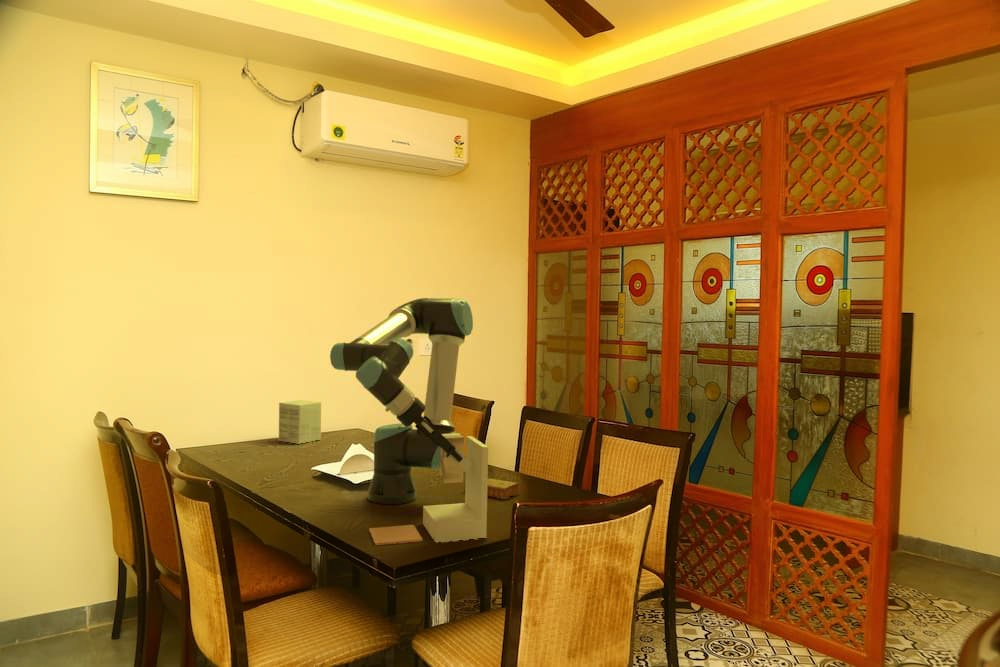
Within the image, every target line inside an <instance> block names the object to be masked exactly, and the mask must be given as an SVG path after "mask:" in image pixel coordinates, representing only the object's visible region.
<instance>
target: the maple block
mask: <svg viewBox="0 0 1000 667" xmlns="http://www.w3.org/2000/svg"><path fill="white" fill-rule="evenodd" d="M442 435H443V436H444V437H445V438H446V439H447V440H448V441H449V442H450V443H451V444H452V445H453V446H455V448H456V449H457V450H458V451H459V452H460V453H461V454H462V455H463V456H464V457H465V437H464V436H463V435H462V434H461V433H459V432H456V434H442ZM446 455H447V453H446V452H445V451H444V450H443V449H442V448H441V460H440V469H439V470H440V472H439V478H440V479H441V481H442V482H443V483H444V484H455V483H464V475H465V473H464V472H465V471H464V470H463V469H462V468H461V467H460V466H459V465H458V464H457V463H455V462H454V461H453V460H452V459H451V458H450V457H449V456H448V458H447V457H446Z"/></svg>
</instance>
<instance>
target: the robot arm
mask: <svg viewBox="0 0 1000 667" xmlns="http://www.w3.org/2000/svg"><path fill="white" fill-rule="evenodd" d="M472 313H473V312H472V309H471V306H470V304H469V303H468V301H466V300H465V299H464V298H463V299H462V298H461V299H460V298H453V297H452V298H448V297H447V298H439V297H438V298H433V297H431V298H429V297H428V298H427V297H426V298H425V297H422V298H417V299H414V300H413V299H412V300H410V301H408V302H406V303H404V304H402V305H399V306H397V307H396V308H394V309H393V310H391V312H390V313H389V314H388V317H386V318H385V319H383V321H380V322H379V323H378V324H376V325H375V326H373V327H372V328H371V329H369V330H367V331H366V332H364V333H363V334H362V335H360V336H358V337H356V338H355V339H353V340H352V341H350V342H348V343H347V342H338V343H335V344H333V346H332V347H331V350H330V352H329V353H330V355H329V359H330V363H331V364H330V365H331V366H332V367H333V369H335V370H338V371H339V370H340V371H344V372H348V371H349V372H355V377H356V379H357V381H358V382H359V383H360V384H361V385H362V387H363V388H364V389H365V390H367V391H368V392H369V393H370V394H371V395H373V397H375V399H376V400H378V401H379V403H381V404H382V405H383V406H384V407H386V408H385V412H387V413H388V412H390V413H391V414H392V415H393V416H396V419H397V421H399V422H400V423H392V424H387V425H382V426H378V427H377V428H376V429H375V431H374V439H373V445H374V446H373V476H372V478H371V481H370V484H369V488H368V489H367V500H368V501H370V502H372V503H375V504H381V505H399V504H407V503H409V502H413V501H414V500H416V499H417V488H416V485H415V481H414V477H413V475H412V468H419V469H428V470H429V469H430V470H435V471H436V470H440V460H441V448H442V449H443V450H444V451H445V452H446V453H447V455H446V457H447V458H448V456H449V457H450V458H451V459H452V460H453V461H454V462H455V463H457V464H458V465H459V466H460V467H461V468H462V469H463V470H464V472H465V473H466V471H467V470H468V468H469V467H470V466H471V465H472V464H471V463H470V462H469V461H468V460H467V459H466V456H465V455H464V456H463V455H462V454H461V453H460V452H459V451H458V450H457V449H456V448H455V446H453V445H452V444H451V443H450V442H449V441H448V440H447V439H446V438H445V437H444V436H443V435H442V434H456V433H457V432H456V431H455V428H456V426H455V425H454V424H453V422H452V413H453V404H454V397H455V396H454V394H455V386H456V377H457V370H458V369H457V368H458V359H459V350H460V347H461V345H462V344H464V343H465V340H466V336H470V335H471V334H472V331H473V327H474V326H473V324H474V322H473V321H474V319H473V314H472ZM413 334H421V335H422V334H423V335H428V339H429V341H430V342H431V352H430V361H429V368H428V370H429V371H428V376H427V377H428V378H427V385H426V393H425V399H424V400H425V401H424V403H423V402H422V401H421V400H420V398H418V397H416V396H415V394H414V393H413V391H412V390H411V389H409V387H408V386H406V385H405V384H404V383H403V382H402V381H401V379H399V378H400V377H401V375H402V374H403V372H405V369H406V368H407V366H409V364H410V361H411V360H412V358H413V356H414V348H413V346H412V344H411V343H410V342H409V341H408V340H406V339H405V338H408V337H410V336H412V335H413ZM422 415H423V416H422ZM413 423H414V424H415V425H414V426H413ZM413 427H414V428H415V429H414V428H413Z"/></svg>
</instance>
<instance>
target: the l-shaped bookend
mask: <svg viewBox="0 0 1000 667" xmlns="http://www.w3.org/2000/svg"><path fill="white" fill-rule="evenodd" d="M465 438H466V439H465V458H466V459H467V460H468V461H469V462H470V463H471V464H472V465H471V466H470V467H469V468H468V470H467V471H466V472H465V481H464V487H465V488H464V502H461V503H460V502H459V503H449V504H448V503H447V504H435V505H434V504H433V505H423V506H422V525H423V526H424V527H425V529H426V531H427V532H428V534H429V535H430V537H431V538H432V539H434V540H433V541H434V543H435V542H436V544H439V543H438V542H441V543H448V542H450V541H452V542H460V541H459V540H463V541H469V539H474V540H479V539H478V538H486V539H487V522H488V519H487V517H488V496H487V484H488V478H489V477H488V476H489V475H488V473H489V446H487V444H484V443H483V442H481V441H480V440H479V439H477V438H475V437H474V436H472V435H467V436H465ZM450 543H451V542H450Z"/></svg>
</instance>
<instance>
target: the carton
mask: <svg viewBox="0 0 1000 667" xmlns="http://www.w3.org/2000/svg"><path fill="white" fill-rule="evenodd" d="M463 489H465V486H464V488H463ZM517 493H518V494H519V482H513V481H507V480H501V479H497V478H490V477H488V484H487V497H488V496H493V497H499V498H505V499H506V498H508V497H510V496H513V495H515V494H517ZM493 497H492V498H493ZM513 497H514V496H513ZM506 500H507V499H506Z"/></svg>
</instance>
